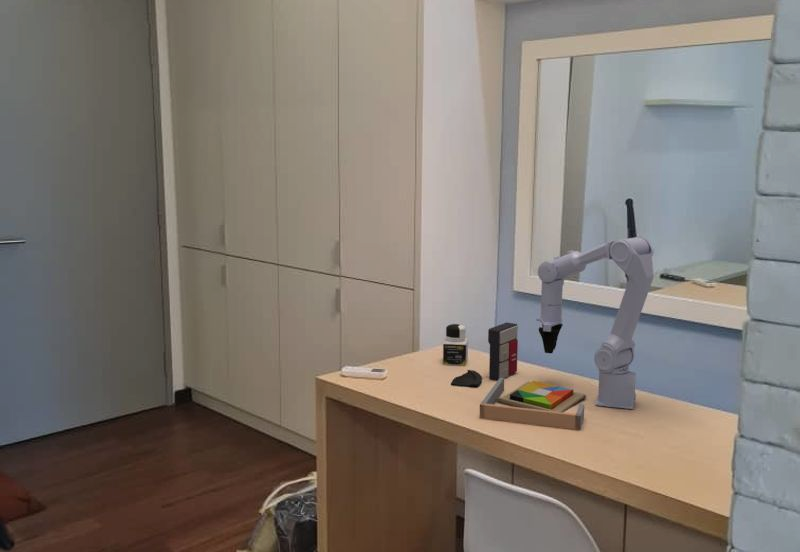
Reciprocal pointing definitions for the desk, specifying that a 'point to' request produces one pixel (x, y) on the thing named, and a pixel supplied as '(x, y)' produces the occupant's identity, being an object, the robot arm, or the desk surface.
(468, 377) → the dark sector wedge
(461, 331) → the medicine bottle
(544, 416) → the bay
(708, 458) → the desk surface
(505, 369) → the grey and red box
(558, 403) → the wooden puzzle
